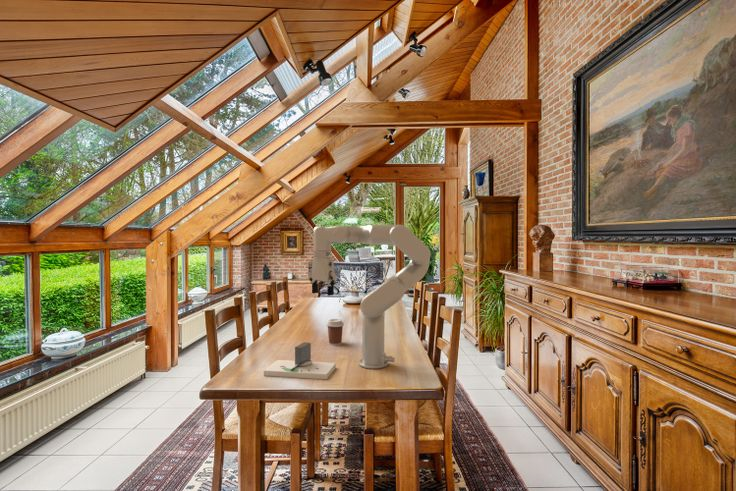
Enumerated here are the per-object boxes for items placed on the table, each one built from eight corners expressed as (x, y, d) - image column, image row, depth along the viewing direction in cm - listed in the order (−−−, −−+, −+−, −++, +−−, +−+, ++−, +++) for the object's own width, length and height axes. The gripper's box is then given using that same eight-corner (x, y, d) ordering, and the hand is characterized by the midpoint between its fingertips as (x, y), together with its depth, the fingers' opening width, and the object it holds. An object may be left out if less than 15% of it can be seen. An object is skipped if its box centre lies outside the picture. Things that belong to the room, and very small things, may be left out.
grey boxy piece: (300, 360, 174) (300, 341, 174) (314, 361, 172) (314, 343, 172) (283, 370, 162) (283, 350, 161) (299, 372, 159) (299, 351, 159)
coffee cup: (325, 345, 205) (325, 322, 204) (327, 341, 214) (326, 318, 213) (343, 345, 205) (343, 322, 204) (344, 341, 214) (344, 318, 214)
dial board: (335, 367, 171) (335, 362, 171) (326, 379, 157) (326, 373, 157) (277, 364, 176) (277, 359, 176) (263, 375, 162) (263, 370, 162)
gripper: (342, 255, 173) (343, 295, 174) (315, 253, 184) (315, 291, 185) (330, 255, 167) (330, 297, 168) (302, 254, 179) (302, 293, 179)
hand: (322, 294), depth 176 cm, fingers open, 9 cm apart
